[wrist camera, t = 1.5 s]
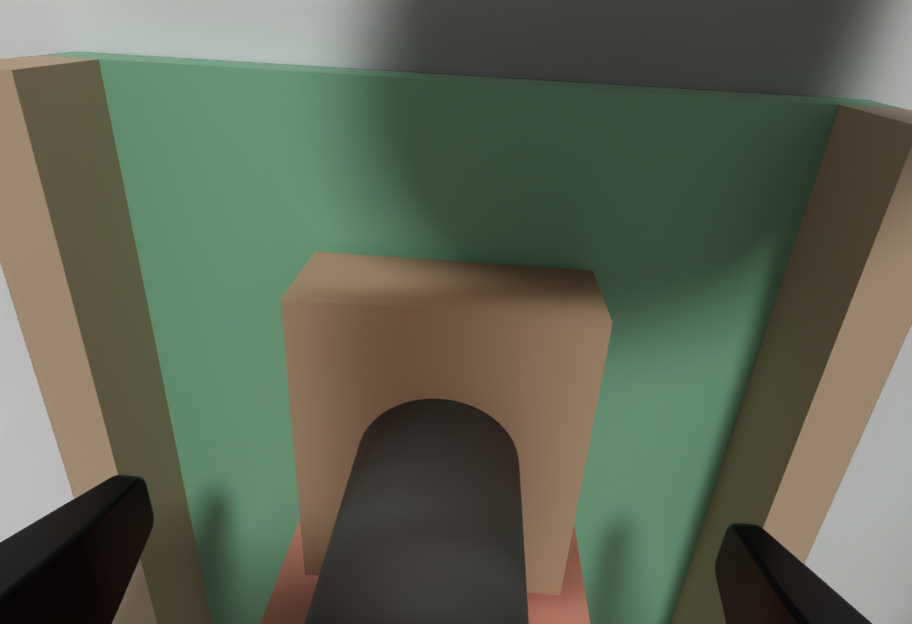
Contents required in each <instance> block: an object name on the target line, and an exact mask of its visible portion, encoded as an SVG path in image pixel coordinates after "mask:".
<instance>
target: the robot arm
mask: <svg viewBox="0 0 912 624" xmlns="http://www.w3.org/2000/svg"><path fill="white" fill-rule="evenodd" d="M153 524H154V512H153V508H152V504H151V500H150V496H149V491H148V487H147V484H146V481H145V480H144V478H142V477H140V476H131V475H115V476H112V477H110V478H109V479H107V480H105V481H104V482H102V483H100V484H98V485H97V486H95V487H93V488H92V489H90V490H88V491H87V492H85V493H83V494H82V495H80V496H78V497H76V498H75V499H73V500H71V501H70V502H68V503H66V504H65V505H63V506H61V507H60V508H58V509H56V510H54V511H53V512H51V513H49V514H48V515H46V516H44V517H43V518H41V519H39V520H37V521H36V522H34V523H32V524H31V525H29V526H27V527H26V528H24V529H22V530H21V531H19V532H17V533H15V534H14V535H12V536H10V537H9V538H7V539H5V540H4V541H2V542H0V624H112V622H113V620H114V618H115V616H116V613H117V611H118V609H119V607H120V604H121V602H122V600H123V597H124V595H125V593H126V590H127V588H128V585H129V583H130V581H131V578H132V576H133V574H134V571H135V569H136V567H137V564H138V562H139V560H140V557H141V555H142V553H143V550H144V548H145V546H146V543H147V541H148V539H149V536H150V534H151V531H152V528H153ZM715 576H716V581H717V585H718V590H719V594H720V599H721V603H722V608H723V612H724V617H725V621H726V624H872V623H871V622H870V621H869V620H868V619H866V618H865V617H864V616H863V615H862V614H861V613H860V612H858V611H857V610H856V609H855V608H854V607H853V606H852V605H850V604H849V603H848V602H847V601H846V600H845V599H843V598H842V597H841V596H840V595H839V594H838V593H837V592H835V591H834V590H833V589H832V588H831V587H830V586H829V585H827V584H826V583H825V582H824V581H823V580H822V579H821V578H819V577H818V576H817V575H816V574H815V573H814V572H813V571H811V570H810V569H809V568H808V567H807V566H806V565H805V564H803V563H802V562H801V561H800V560H799V559H798V558H797V557H795V556H794V555H793V554H792V553H791V552H790V551H789V550H787V549H786V548H785V547H784V546H783V545H782V544H781V543H779V542H778V541H777V540H776V539H775V538H774V537H773V536H771V535H770V534H769V533H768V532H767V531H766V530H765V529H763V528H762V527H760V526H759V525H756V524H746V523H731V524H730V525H729V526H728V527H727V529H726V531H725V534H724V537H723V540H722V543H721V546H720V548H719V551H718V554H717V557H716V561H715Z"/></svg>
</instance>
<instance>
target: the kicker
mask: <svg viewBox="0 0 912 624" xmlns="http://www.w3.org/2000/svg"><path fill="white" fill-rule="evenodd" d="M280 301H281V312H282V323H283V334H284V345H285V357H286V368H287V379H288V390H289V402H290V413H291V424H292V435H293V446H294V458H295V469H296V480H297V491H298V503H299V514H300V520H299V523H298V525H297V528H296V531H295V533H294V536H293V538H292V541H291V544H290V546H289V549H288V552H287V554H286V557H285V560H284V562H283V565H282V568H281V570H280V573H279V576H278V578H277V581H276V584H275V586H274V589H273V591H272V594H271V597H270V599H269V602H268V605H267V607H266V610H265V613H264V615H263V618H262V621H261V623H260V624H590V619H589V613H588V607H587V601H586V594H585V588H584V582H583V576H582V569H581V563H580V557H579V551H578V544H577V538H576V532H575V526H574V521H575V516H576V511H577V505H578V500H579V495H580V490H581V485H582V479H583V474H584V469H585V464H586V459H587V453H588V448H589V443H590V438H591V433H592V427H593V422H594V417H595V412H596V407H597V401H598V396H599V391H600V386H601V381H602V375H603V370H604V365H605V360H606V355H607V350H608V344H609V339H610V334H611V329H612V324H613V322H612V319H611V317H610V314H609V312H608V309H607V307H606V304H605V301H604V299H603V296H602V294H601V291H600V288H599V286H598V283H597V281H596V278H595V275H594V273H593V271H592V270H577V269H563V268H548V267H534V266H519V265H505V264H490V263H475V262H461V261H446V260H432V259H417V258H403V257H388V256H373V255H359V254H344V253H330V252H314V254H313V255H312V257H311V258H310V259H309V261H308V262H307V263H306V265H305V266H304V267H303V269H302V270H301V272H300V273H299V274H298V276H297V277H296V278H295V280H294V281H293V282H292V284H291V285H290V287H289V288H288V289H287V291H286V292H285V293H284V295H283V296H282V298H281V299H280Z"/></svg>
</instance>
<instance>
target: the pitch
mask: <svg viewBox="0 0 912 624" xmlns="http://www.w3.org/2000/svg"><path fill="white" fill-rule="evenodd" d="M314 252H330V253H344V254H359V255H373V256H388V257H403V258H417V259H432V260H446V261H461V262H475V263H490V264H505V265H519V266H534V267H548V268H563V269H577V270H592V271H593V273H594V275H595V278H596V281H597V283H598V286H599V288H600V291H601V294H602V296H603V299H604V301H605V304H606V307H607V309H608V312H609V314H610V317H611V319H612V322H613V324H612V329H611V334H610V339H609V344H608V350H607V355H606V360H605V365H604V370H603V375H602V381H601V386H600V391H599V396H598V401H597V407H596V412H595V417H594V422H593V427H592V433H591V438H590V443H589V448H588V453H587V459H586V464H585V469H584V474H583V479H582V485H581V490H580V495H579V500H578V505H577V511H576V516H575V521H574V526H575V532H576V538H577V544H578V551H579V557H580V563H581V569H582V576H583V582H584V588H585V594H586V601H587V607H588V613H589V619H590V624H726V621H725V617H724V612H723V608H722V603H721V599H720V594H719V590H718V585H717V581H716V576H715V561H716V557H717V554H718V551H719V548H720V546H721V543H722V540H723V537H724V534H725V531H726V529H727V527H728V526H729V525H730V524H731V523H746V524H756V525H759V526H760V527H762V528H763V529H765V530H766V531H767V532H768V533H769V534H770V535H771V536H773V537H774V538H775V539H776V540H777V541H778V542H779V543H781V544H782V545H783V546H784V547H785V548H786V549H787V550H789V551H790V552H791V553H792V554H793V555H794V556H795V557H797V558H798V559H799V560H800V561H801V562H802V563H803V564H804V563H805V561H806V559H807V557H808V554H809V552H810V550H811V548H812V545H813V543H814V541H815V539H816V537H817V534H818V532H819V530H820V528H821V525H822V523H823V521H824V519H825V516H826V514H827V512H828V510H829V508H830V505H831V503H832V501H833V499H834V496H835V494H836V492H837V490H838V487H839V485H840V483H841V481H842V478H843V476H844V474H845V472H846V470H847V467H848V465H849V463H850V461H851V458H852V456H853V454H854V452H855V449H856V447H857V445H858V443H859V441H860V438H861V436H862V434H863V432H864V429H865V427H866V425H867V423H868V420H869V418H870V416H871V414H872V411H873V409H874V407H875V405H876V403H877V400H878V398H879V396H880V394H881V391H882V389H883V387H884V385H885V382H886V380H887V378H888V376H889V374H890V371H891V369H892V367H893V365H894V362H895V360H896V358H897V356H898V353H899V351H900V349H901V347H902V344H903V342H904V340H905V338H906V336H907V333H908V331H909V329H910V327H911V324H912V110H907V109H903V108H899V107H895V106H891V105H887V104H882V103H878V102H874V101H870V100H859V99H842V98H826V97H810V96H793V95H777V94H761V93H744V92H728V91H711V90H695V89H679V88H662V87H646V86H629V85H613V84H597V83H580V82H564V81H547V80H531V79H515V78H498V77H482V76H466V75H449V74H433V73H416V72H400V71H384V70H367V69H351V68H334V67H318V66H302V65H285V64H269V63H253V62H236V61H220V60H203V59H187V58H171V57H154V56H138V55H121V54H105V53H89V52H69V53H59V54H49V55H39V56H29V57H19V58H9V59H0V263H1V266H2V269H3V272H4V275H5V279H6V282H7V285H8V288H9V291H10V295H11V298H12V301H13V304H14V307H15V310H16V314H17V317H18V320H19V323H20V326H21V330H22V333H23V336H24V339H25V342H26V346H27V349H28V352H29V355H30V358H31V362H32V365H33V368H34V371H35V374H36V377H37V381H38V384H39V387H40V390H41V393H42V397H43V400H44V403H45V406H46V409H47V413H48V416H49V419H50V422H51V425H52V429H53V432H54V435H55V438H56V441H57V444H58V448H59V451H60V454H61V457H62V460H63V464H64V467H65V470H66V473H67V476H68V480H69V483H70V486H71V489H72V492H73V496H74V499H75V498H76V497H78V496H80V495H82V494H83V493H85V492H87V491H88V490H90V489H92V488H93V487H95V486H97V485H98V484H100V483H102V482H104V481H105V480H107V479H109V478H110V477H112V476H115V475H131V476H140V477H142V478H144V480H145V481H146V484H147V487H148V491H149V496H150V500H151V504H152V508H153V512H154V524H153V528H152V531H151V534H150V536H149V539H148V541H147V543H146V546H145V548H144V550H143V553H142V555H141V557H140V560H139V562H138V564H137V567H136V569H135V571H134V574H133V576H132V578H131V581H130V583H129V585H128V588H127V590H126V593H125V595H124V597H123V600H122V602H121V604H120V607H119V609H118V611H117V613H116V616H115V618H114V620H113V623H114V624H260V623H261V621H262V618H263V615H264V613H265V610H266V607H267V605H268V602H269V599H270V597H271V594H272V591H273V589H274V586H275V584H276V581H277V578H278V576H279V573H280V570H281V568H282V565H283V562H284V560H285V557H286V554H287V552H288V549H289V546H290V544H291V541H292V538H293V536H294V533H295V531H296V528H297V525H298V523H299V520H300V514H299V503H298V491H297V480H296V469H295V458H294V446H293V435H292V424H291V413H290V402H289V390H288V379H287V368H286V357H285V345H284V334H283V323H282V312H281V301H280V299H281V298H282V296H283V295H284V293H285V292H286V291H287V289H288V288H289V287H290V285H291V284H292V282H293V281H294V280H295V278H296V277H297V276H298V274H299V273H300V272H301V270H302V269H303V267H304V266H305V265H306V263H307V262H308V261H309V259H310V258H311V257H312V255H313V254H314Z"/></svg>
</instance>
